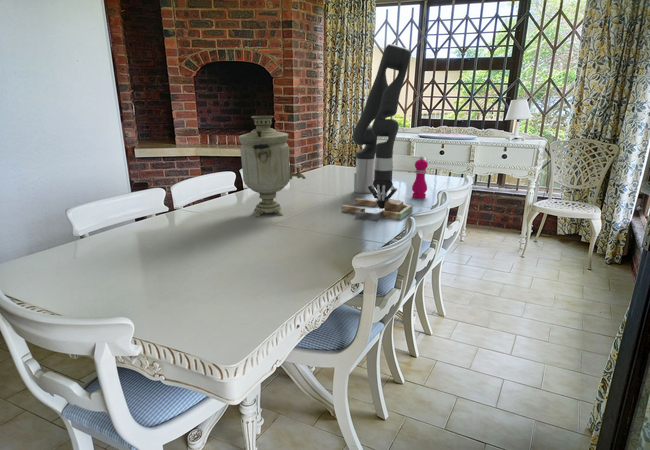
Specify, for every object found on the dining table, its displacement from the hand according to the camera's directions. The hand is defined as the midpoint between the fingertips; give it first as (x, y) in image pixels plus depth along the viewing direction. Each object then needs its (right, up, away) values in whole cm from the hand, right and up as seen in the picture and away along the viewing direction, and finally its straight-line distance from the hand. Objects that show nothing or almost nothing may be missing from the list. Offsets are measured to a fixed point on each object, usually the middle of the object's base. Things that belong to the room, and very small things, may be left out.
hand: (381, 208), depth 181 cm
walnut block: (+5, -2, -2) cm, 6 cm away
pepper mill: (+22, +6, +25) cm, 34 cm away
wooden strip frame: (-2, -1, +1) cm, 3 cm away
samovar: (-46, -2, -2) cm, 46 cm away
